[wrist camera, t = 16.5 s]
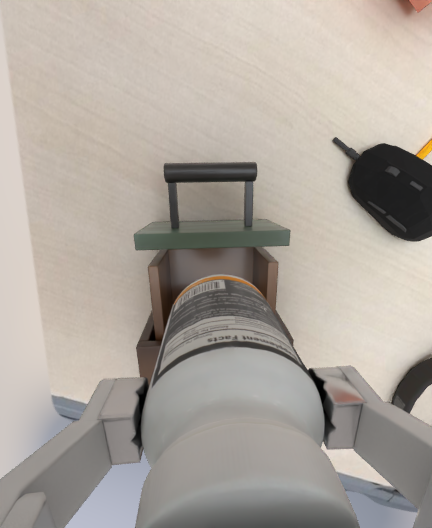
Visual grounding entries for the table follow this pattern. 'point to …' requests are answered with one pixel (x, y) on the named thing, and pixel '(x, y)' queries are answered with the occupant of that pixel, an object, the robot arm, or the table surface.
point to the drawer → (209, 242)
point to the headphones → (413, 386)
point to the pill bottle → (234, 421)
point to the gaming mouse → (393, 189)
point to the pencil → (425, 150)
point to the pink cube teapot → (420, 4)
